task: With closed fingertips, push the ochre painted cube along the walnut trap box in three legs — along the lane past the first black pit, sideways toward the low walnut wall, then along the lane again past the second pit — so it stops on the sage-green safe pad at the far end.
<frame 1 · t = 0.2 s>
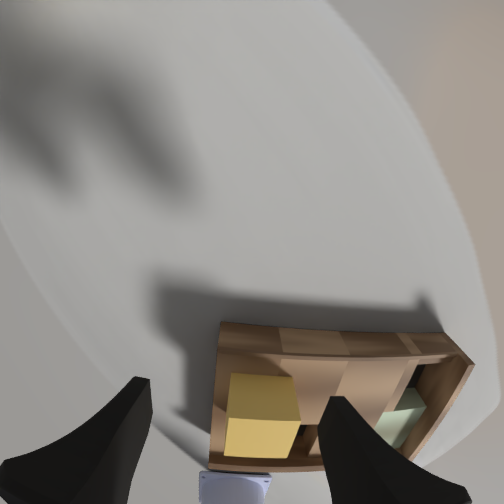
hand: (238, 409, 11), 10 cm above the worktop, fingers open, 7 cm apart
trap box: (328, 394, 23), on the worktop
ochre block: (257, 396, 19), point 3 cm above the worktop, touching trap box
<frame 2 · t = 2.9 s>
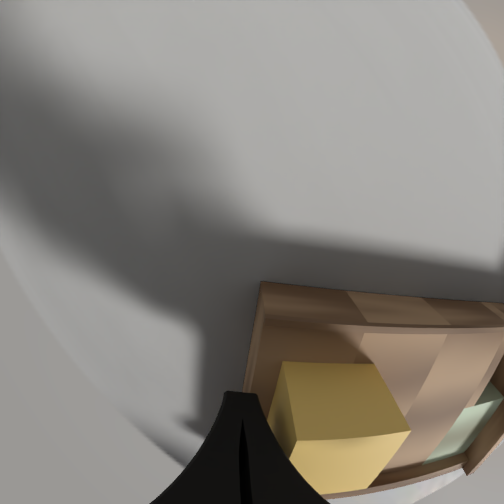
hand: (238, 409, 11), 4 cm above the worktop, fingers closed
trap box: (395, 391, 16), on the worktop
ochre block: (318, 398, 12), point 3 cm above the worktop, touching gripper, trap box
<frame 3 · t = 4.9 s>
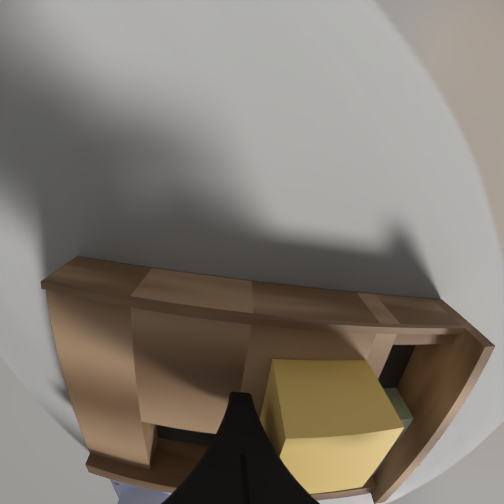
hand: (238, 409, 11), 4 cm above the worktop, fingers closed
trap box: (253, 390, 15), on the worktop
ochre block: (310, 396, 12), point 3 cm above the worktop, touching gripper, trap box
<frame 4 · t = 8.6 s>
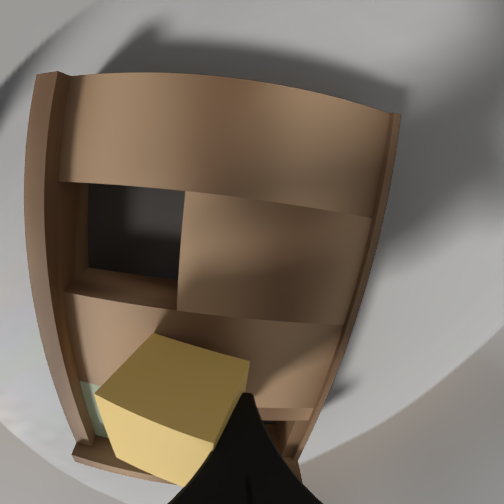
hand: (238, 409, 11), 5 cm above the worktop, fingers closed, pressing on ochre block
trap box: (195, 299, 14), on the worktop
ochre block: (198, 383, 12), point 4 cm above the worktop, tilted 18°, touching gripper, trap box
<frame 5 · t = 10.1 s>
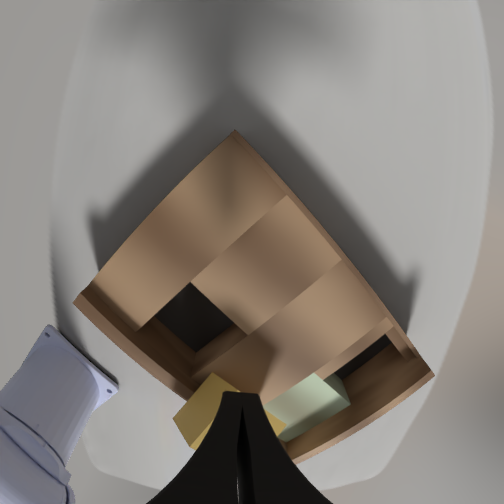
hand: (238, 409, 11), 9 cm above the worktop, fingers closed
trap box: (263, 315, 20), on the worktop
ochre block: (247, 398, 16), point 5 cm above the worktop, tilted 55°, touching trap box
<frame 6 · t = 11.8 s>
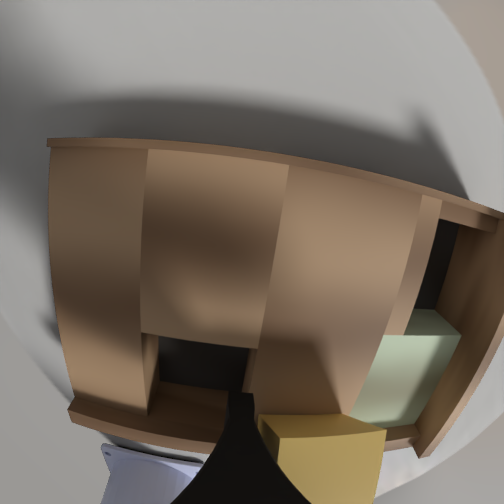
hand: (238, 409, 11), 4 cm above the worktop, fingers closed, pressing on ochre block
trap box: (278, 304, 14), on the worktop
ochre block: (317, 423, 10), point 5 cm above the worktop, tilted 54°, touching gripper, trap box
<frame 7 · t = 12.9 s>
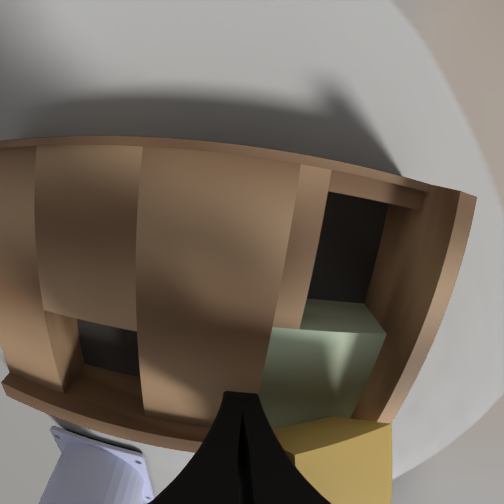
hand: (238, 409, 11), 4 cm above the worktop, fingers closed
trap box: (177, 291, 14), on the worktop
ochre block: (318, 431, 10), point 5 cm above the worktop, tilted 52°, touching gripper, trap box
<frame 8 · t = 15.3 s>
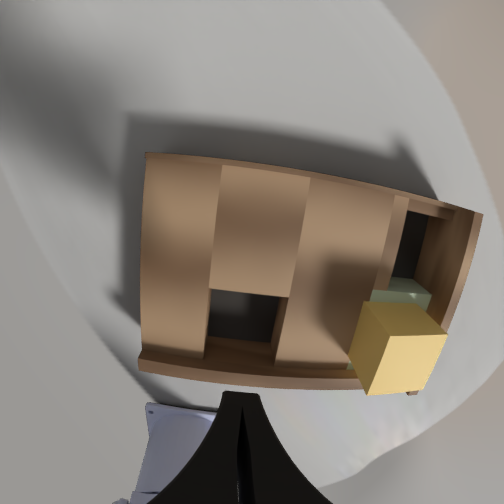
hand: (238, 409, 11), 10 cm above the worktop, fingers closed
trap box: (299, 272, 20), on the worktop
ochre block: (382, 330, 18), point 3 cm above the worktop, touching trap box
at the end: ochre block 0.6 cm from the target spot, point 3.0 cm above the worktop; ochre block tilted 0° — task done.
